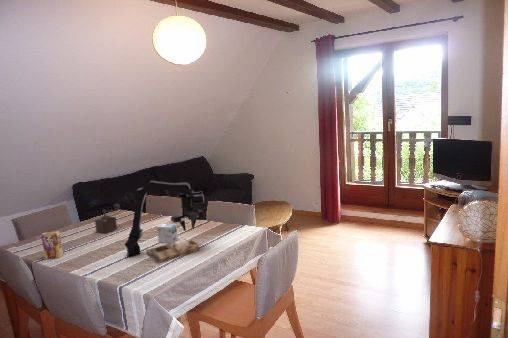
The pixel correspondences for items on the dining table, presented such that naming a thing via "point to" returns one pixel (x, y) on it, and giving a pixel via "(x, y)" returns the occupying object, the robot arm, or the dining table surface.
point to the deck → (167, 252)
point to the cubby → (188, 246)
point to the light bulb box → (167, 233)
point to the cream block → (181, 244)
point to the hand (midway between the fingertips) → (189, 230)
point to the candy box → (52, 245)
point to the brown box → (106, 222)
